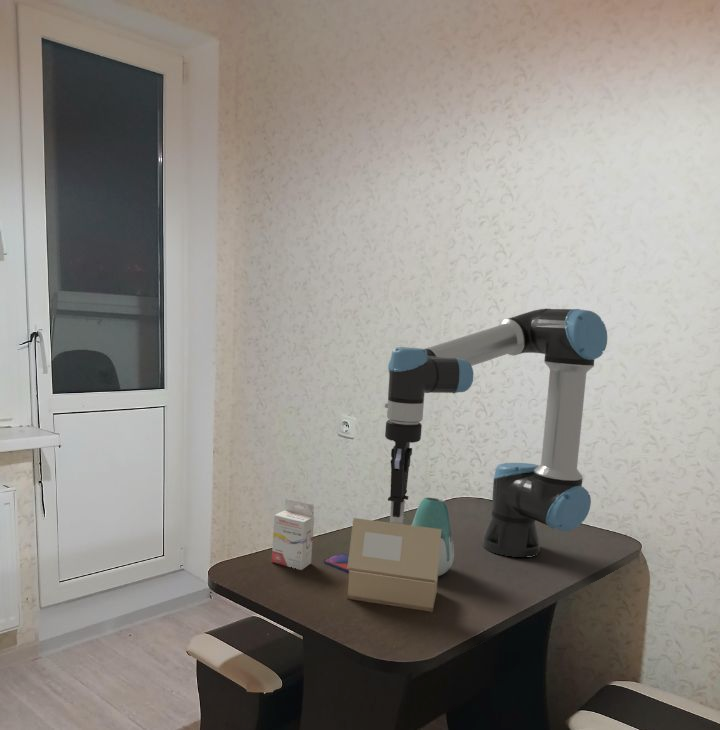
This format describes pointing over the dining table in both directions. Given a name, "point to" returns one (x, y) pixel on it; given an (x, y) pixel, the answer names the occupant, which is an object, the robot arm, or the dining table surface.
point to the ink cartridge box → (293, 535)
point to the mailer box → (392, 591)
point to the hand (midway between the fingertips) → (395, 530)
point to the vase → (437, 517)
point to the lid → (394, 550)
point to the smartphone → (338, 562)
